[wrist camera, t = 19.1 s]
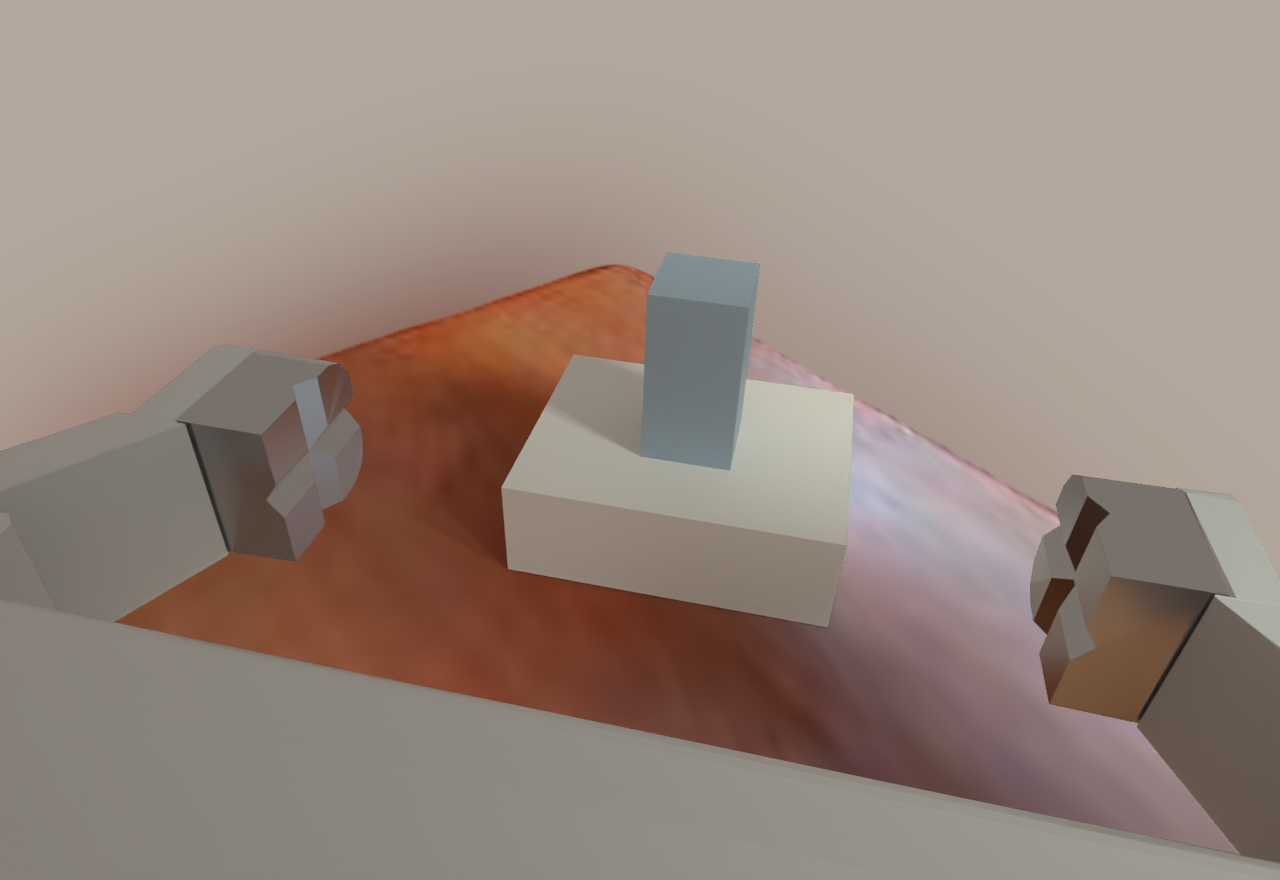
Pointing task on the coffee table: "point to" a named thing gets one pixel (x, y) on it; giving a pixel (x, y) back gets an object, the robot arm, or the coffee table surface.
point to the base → (685, 498)
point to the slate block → (697, 358)
